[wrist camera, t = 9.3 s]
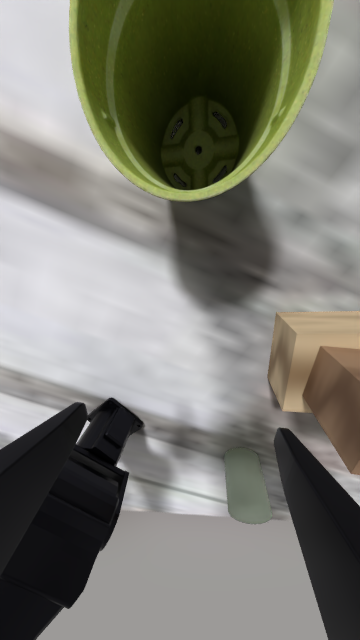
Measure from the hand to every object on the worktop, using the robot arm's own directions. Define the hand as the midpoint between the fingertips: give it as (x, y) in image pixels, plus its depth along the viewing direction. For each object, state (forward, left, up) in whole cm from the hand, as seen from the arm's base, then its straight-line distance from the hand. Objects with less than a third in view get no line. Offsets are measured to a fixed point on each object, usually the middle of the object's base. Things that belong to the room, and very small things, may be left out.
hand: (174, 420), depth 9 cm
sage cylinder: (-10, -21, -13) cm, 26 cm away
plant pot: (+10, +10, -13) cm, 19 cm away
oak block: (+7, -11, -13) cm, 18 cm away
